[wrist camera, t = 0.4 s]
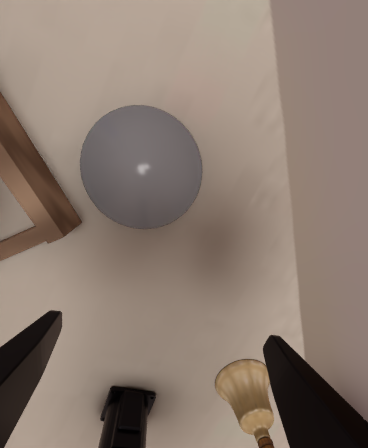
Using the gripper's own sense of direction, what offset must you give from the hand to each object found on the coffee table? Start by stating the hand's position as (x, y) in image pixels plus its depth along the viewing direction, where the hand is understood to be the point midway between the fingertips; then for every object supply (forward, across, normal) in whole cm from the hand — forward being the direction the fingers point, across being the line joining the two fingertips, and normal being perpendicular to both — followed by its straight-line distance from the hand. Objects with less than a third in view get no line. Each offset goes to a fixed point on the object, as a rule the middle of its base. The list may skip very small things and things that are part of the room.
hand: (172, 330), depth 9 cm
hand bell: (+12, -16, +23) cm, 30 cm away
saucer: (+15, +3, -3) cm, 15 cm away
